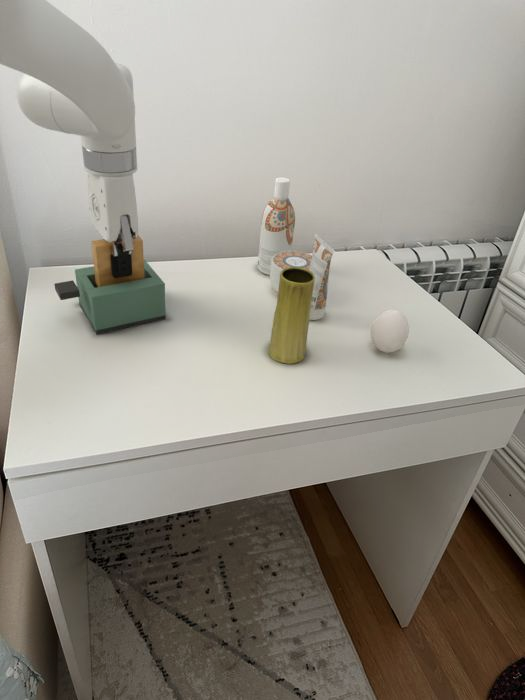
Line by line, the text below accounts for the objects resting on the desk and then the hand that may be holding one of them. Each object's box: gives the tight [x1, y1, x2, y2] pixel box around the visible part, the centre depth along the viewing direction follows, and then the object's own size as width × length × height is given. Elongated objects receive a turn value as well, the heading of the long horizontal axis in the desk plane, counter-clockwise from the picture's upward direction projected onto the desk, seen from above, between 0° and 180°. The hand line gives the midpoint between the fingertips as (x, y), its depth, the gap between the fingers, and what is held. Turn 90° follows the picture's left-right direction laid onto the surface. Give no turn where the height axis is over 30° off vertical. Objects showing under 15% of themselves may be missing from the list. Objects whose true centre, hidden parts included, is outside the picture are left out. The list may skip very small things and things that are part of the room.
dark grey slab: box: [53, 280, 80, 301], centre depth 85 cm, size 3×4×1 cm
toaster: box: [74, 259, 167, 335], centre depth 91 cm, size 12×10×7 cm
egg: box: [370, 309, 410, 353], centre depth 88 cm, size 6×6×8 cm
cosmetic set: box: [257, 176, 334, 321], centre depth 98 cm, size 25×9×19 cm, turn 22°
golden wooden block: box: [90, 234, 145, 287], centre depth 87 cm, size 8×2×8 cm, turn 121°
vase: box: [267, 267, 315, 365], centre depth 83 cm, size 6×6×14 cm
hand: (119, 271), depth 88 cm, fingers closed on golden wooden block, 2 cm apart
